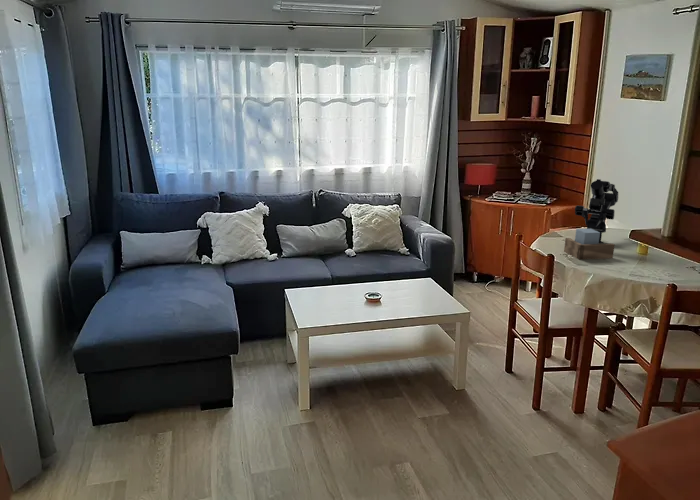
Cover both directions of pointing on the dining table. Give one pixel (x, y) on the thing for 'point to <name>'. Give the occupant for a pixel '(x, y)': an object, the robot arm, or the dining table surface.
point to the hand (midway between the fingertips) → (591, 225)
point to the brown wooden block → (588, 250)
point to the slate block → (587, 236)
